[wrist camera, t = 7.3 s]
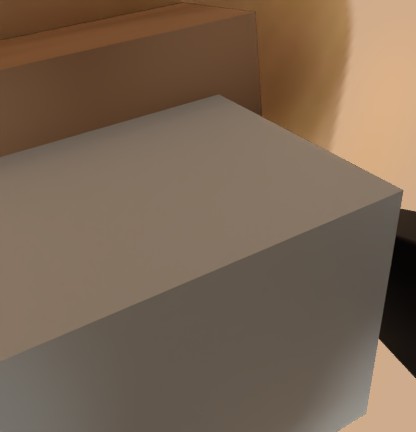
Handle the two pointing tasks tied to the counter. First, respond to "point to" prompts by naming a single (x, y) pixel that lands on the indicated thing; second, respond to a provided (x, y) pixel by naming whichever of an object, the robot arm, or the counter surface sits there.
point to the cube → (190, 278)
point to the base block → (124, 71)
